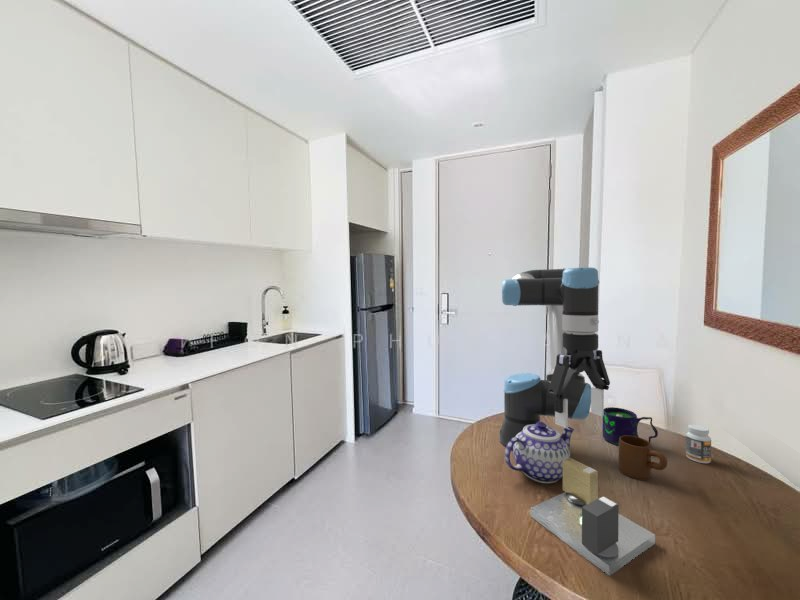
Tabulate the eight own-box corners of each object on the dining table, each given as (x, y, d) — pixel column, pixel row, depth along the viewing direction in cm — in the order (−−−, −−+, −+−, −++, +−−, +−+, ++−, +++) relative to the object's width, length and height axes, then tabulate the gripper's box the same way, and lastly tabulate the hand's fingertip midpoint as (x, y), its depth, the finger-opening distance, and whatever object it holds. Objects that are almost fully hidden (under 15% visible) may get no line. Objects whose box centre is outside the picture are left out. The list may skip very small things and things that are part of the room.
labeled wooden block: (558, 493, 80) (558, 461, 80) (574, 486, 83) (574, 455, 83) (585, 510, 74) (585, 476, 74) (601, 502, 77) (601, 468, 77)
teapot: (523, 499, 82) (522, 441, 82) (488, 467, 97) (487, 418, 96) (597, 478, 90) (597, 426, 90) (554, 452, 105) (554, 407, 104)
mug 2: (675, 486, 86) (676, 451, 86) (657, 493, 84) (657, 457, 83) (629, 463, 98) (629, 433, 97) (612, 469, 95) (612, 437, 94)
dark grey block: (604, 563, 60) (605, 520, 60) (574, 541, 65) (574, 502, 65) (626, 549, 63) (626, 508, 63) (595, 528, 69) (596, 491, 68)
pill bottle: (709, 466, 95) (710, 433, 95) (684, 459, 100) (684, 427, 99) (711, 459, 99) (712, 427, 99) (687, 452, 103) (687, 422, 103)
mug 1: (599, 441, 112) (600, 413, 111) (605, 431, 119) (605, 404, 119) (656, 456, 102) (656, 424, 101) (658, 444, 109) (658, 415, 109)
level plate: (530, 516, 76) (530, 505, 76) (574, 495, 83) (574, 485, 83) (609, 576, 60) (609, 562, 60) (654, 543, 67) (655, 531, 67)
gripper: (559, 338, 68) (559, 437, 69) (626, 330, 80) (626, 415, 80) (530, 334, 75) (530, 424, 76) (596, 327, 86) (596, 405, 87)
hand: (580, 420), depth 78 cm, fingers open, 13 cm apart
